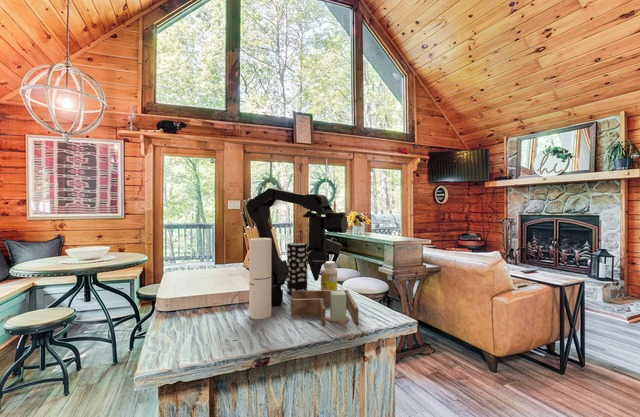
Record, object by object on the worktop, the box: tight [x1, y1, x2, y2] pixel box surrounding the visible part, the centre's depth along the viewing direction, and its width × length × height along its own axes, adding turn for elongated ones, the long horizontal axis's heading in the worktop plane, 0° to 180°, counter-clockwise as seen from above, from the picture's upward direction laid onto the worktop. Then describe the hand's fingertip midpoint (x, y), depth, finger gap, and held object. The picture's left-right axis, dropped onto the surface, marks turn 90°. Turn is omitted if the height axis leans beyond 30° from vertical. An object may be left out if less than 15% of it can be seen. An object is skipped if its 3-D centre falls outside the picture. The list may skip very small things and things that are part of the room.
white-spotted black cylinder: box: [286, 242, 308, 296], centre depth 130 cm, size 8×8×20 cm
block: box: [329, 291, 347, 321], centre depth 100 cm, size 4×4×8 cm
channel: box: [290, 289, 359, 326], centre depth 105 cm, size 20×20×5 cm
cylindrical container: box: [248, 237, 272, 320], centre depth 103 cm, size 7×7×25 cm
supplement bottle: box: [320, 260, 338, 290], centre depth 129 cm, size 7×7×13 cm
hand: (315, 277), depth 107 cm, fingers open, 9 cm apart
